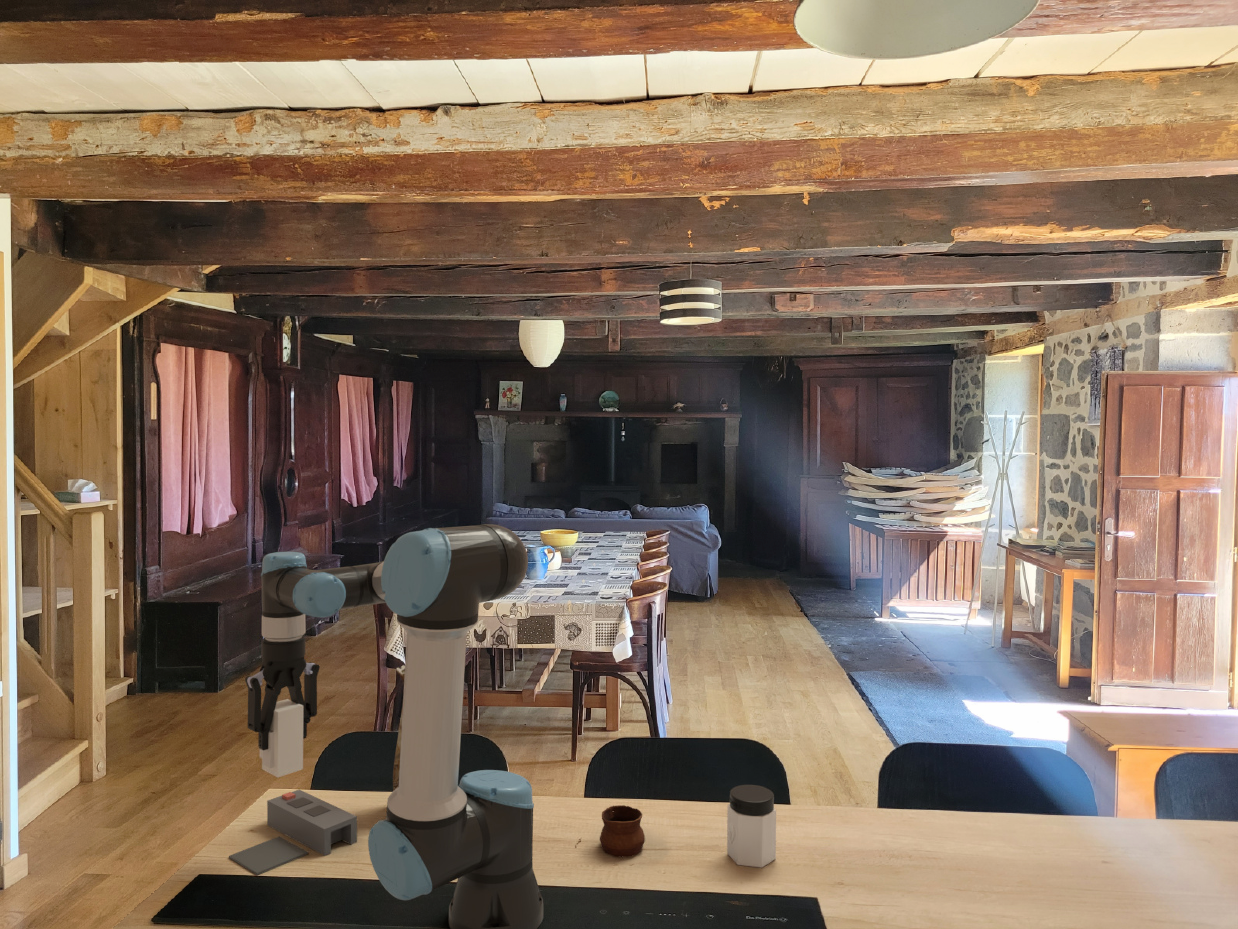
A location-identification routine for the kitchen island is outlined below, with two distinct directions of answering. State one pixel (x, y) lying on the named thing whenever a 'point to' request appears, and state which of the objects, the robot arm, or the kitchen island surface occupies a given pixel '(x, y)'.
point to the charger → (286, 738)
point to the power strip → (311, 821)
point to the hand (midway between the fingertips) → (282, 761)
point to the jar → (751, 826)
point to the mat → (268, 855)
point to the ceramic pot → (621, 831)
